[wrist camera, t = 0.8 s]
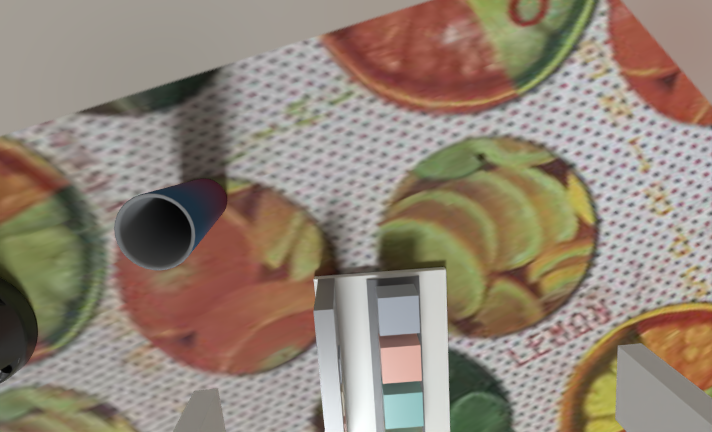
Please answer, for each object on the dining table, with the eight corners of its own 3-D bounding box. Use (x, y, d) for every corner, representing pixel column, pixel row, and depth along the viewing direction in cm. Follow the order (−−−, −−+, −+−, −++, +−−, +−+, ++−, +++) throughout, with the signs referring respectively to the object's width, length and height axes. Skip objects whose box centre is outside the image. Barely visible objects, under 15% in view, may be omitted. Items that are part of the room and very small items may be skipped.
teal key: (383, 410, 57) (385, 429, 54) (380, 378, 56) (383, 395, 53) (418, 407, 57) (423, 426, 54) (417, 375, 56) (422, 392, 53)
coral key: (380, 367, 56) (382, 383, 53) (378, 333, 55) (380, 348, 52) (416, 364, 56) (421, 380, 53) (415, 330, 55) (420, 345, 52)
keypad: (330, 444, 62) (327, 507, 52) (314, 276, 56) (308, 311, 47) (448, 435, 62) (468, 495, 52) (444, 266, 57) (465, 299, 47)
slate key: (377, 322, 55) (379, 336, 51) (375, 286, 54) (377, 298, 50) (415, 319, 55) (420, 333, 51) (413, 283, 54) (418, 295, 50)
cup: (207, 158, 53) (155, 176, 38) (246, 204, 54) (211, 238, 39) (163, 195, 54) (96, 226, 39) (203, 239, 55) (153, 285, 40)
